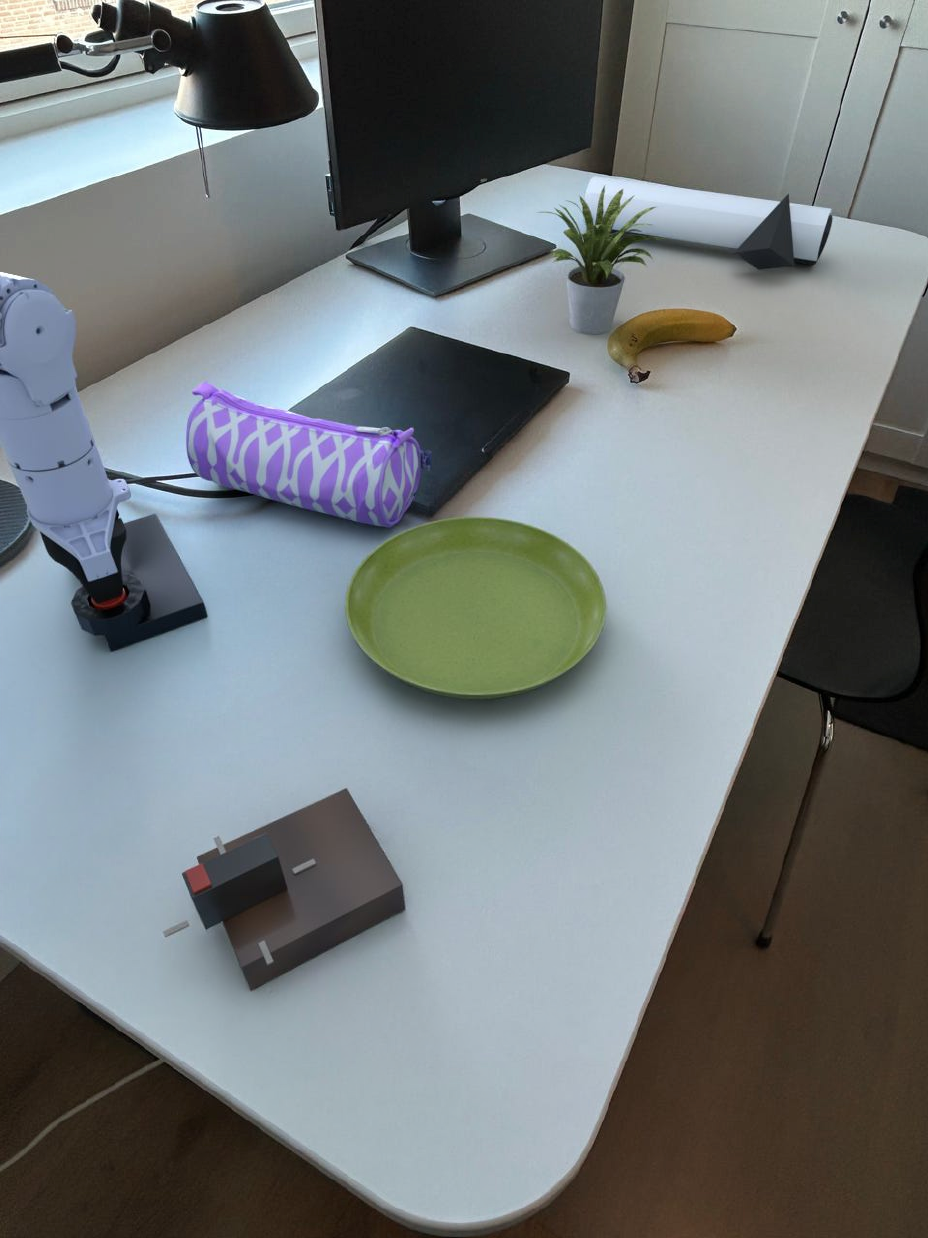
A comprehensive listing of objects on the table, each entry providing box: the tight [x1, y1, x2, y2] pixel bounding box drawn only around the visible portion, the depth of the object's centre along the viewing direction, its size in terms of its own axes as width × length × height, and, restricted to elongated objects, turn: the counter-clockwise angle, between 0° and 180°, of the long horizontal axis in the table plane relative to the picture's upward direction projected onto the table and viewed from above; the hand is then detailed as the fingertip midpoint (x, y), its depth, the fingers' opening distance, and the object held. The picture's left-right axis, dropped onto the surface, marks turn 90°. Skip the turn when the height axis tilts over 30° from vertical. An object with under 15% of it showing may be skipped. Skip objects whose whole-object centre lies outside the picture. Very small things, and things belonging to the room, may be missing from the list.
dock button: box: [91, 588, 127, 610], centre depth 70 cm, size 3×3×2 cm
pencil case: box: [185, 381, 433, 528], centre depth 82 cm, size 22×9×10 cm, turn 70°
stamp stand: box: [162, 787, 406, 992], centre depth 53 cm, size 13×9×3 cm
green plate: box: [344, 516, 607, 700], centre depth 71 cm, size 21×21×3 cm
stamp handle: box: [181, 833, 287, 931], centre depth 50 cm, size 5×2×4 cm, turn 121°
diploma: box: [582, 175, 834, 271], centre depth 124 cm, size 35×9×14 cm
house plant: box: [537, 186, 666, 335], centre depth 105 cm, size 14×14×16 cm
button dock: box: [70, 513, 209, 653], centre depth 74 cm, size 14×9×4 cm, turn 30°
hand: (108, 595), depth 70 cm, fingers closed, pressing on dock button
